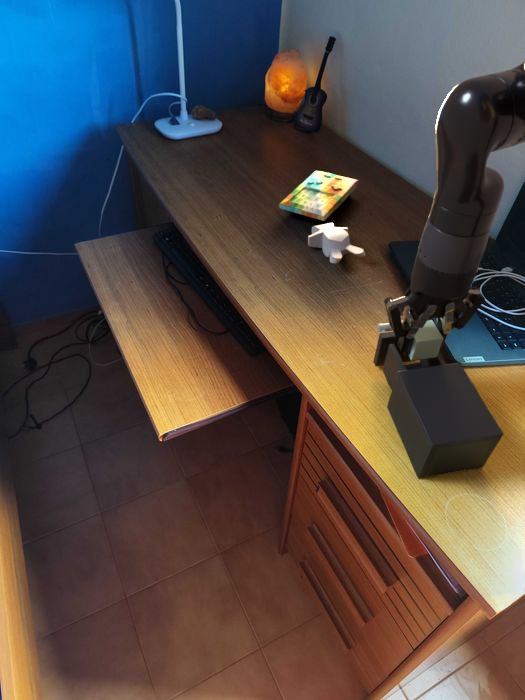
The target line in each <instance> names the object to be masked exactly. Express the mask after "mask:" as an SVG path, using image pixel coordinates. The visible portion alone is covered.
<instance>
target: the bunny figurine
mask: <svg viewBox="0 0 525 700" xmlns="http://www.w3.org/2000/svg"><path fill="white" fill-rule="evenodd" d="M307 246H309V247H311V248H312V247H313V248H318V249H322V252H323V253H322V254H323V255H324V256H325V257H326V258H329V262H330V263H331V264H338V263H340V262H341V260H342V258H343V256H344V255H346V254H348V253H351V254H352V255H354V256H356V257H359V258H364V257H365V256H366V252H365V250H364V248H362V247H358V246H354V245H352V244H351V240H350V234H349V228H348V227H343V226H342V227H341V226H335V224H334V223H333V222H327V223H324V224H323V223H322V224H318V225H313V226H311V234H309V235H307Z"/></svg>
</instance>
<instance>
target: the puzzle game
mask: <svg viewBox="0 0 525 700" xmlns="http://www.w3.org/2000/svg"><path fill="white" fill-rule="evenodd" d="M358 186H359V179H355V178H350V177H346V176H341V175H338V174H334V173H330V172H325V171H323V170H322V171H321V170H315V171H314V172H312V173H311V174H310V175H309V176H308V177H307V178H306V179H305V180H304V181H302V183H300V184H299V185H298V186H297V187H296V188H294V190H293V191H292V192H291V193H289V194H288V195H287V196H286V197H285V198H284V199H282V200H281V202H279V203H278V208H279V209H281V210H285V211H288V212H292V213H295V214H299V215H301V216H305V217H309V218H312V219H315V220H319V221H323V222H325V221H327V219H328V218H329V217H330V216H332V214H333V213H334V212H335V211H336V210H337V209H338V208H339V207H340V206H341V205H342V204H343V202H345V200H347V198H349V197H350V195H352V194H353V192H354V191H355V190H356V189H357V187H358Z"/></svg>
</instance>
